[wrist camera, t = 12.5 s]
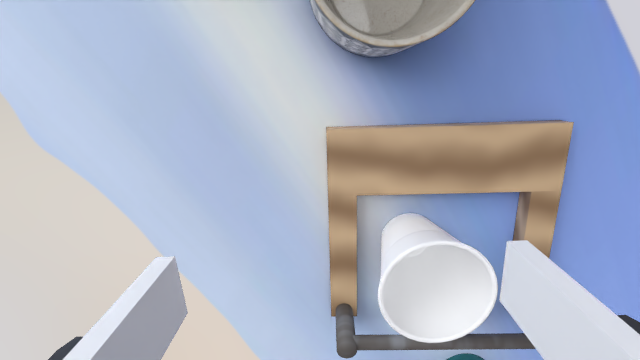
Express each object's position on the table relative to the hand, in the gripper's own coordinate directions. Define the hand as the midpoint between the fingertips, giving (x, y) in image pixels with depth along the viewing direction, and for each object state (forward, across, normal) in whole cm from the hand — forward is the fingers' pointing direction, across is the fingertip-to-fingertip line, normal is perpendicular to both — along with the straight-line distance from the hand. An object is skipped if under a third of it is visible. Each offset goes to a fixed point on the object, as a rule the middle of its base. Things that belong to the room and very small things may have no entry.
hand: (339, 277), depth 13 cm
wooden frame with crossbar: (+23, +11, -9) cm, 27 cm away
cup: (+23, +8, -11) cm, 27 cm away
